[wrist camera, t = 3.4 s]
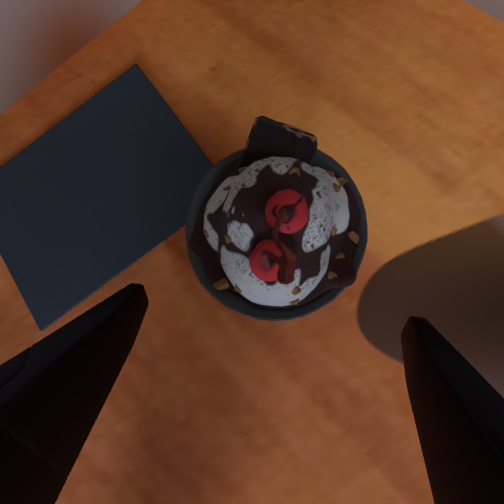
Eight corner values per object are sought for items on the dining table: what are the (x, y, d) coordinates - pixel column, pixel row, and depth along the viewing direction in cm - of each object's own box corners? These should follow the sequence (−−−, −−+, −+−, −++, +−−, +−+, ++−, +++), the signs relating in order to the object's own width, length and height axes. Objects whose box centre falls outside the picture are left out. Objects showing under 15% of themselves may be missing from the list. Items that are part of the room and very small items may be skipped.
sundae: (288, 327, 20) (280, 431, 5) (217, 264, 21) (41, 195, 6) (350, 254, 20) (525, 141, 5) (276, 195, 21) (242, -31, 6)
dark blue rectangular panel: (231, 189, 22) (230, 188, 21) (42, 330, 22) (40, 330, 22) (137, 64, 24) (136, 62, 24) (-30, 192, 25) (-32, 191, 25)
